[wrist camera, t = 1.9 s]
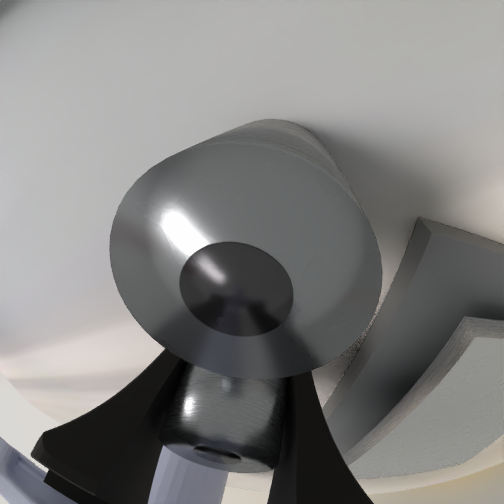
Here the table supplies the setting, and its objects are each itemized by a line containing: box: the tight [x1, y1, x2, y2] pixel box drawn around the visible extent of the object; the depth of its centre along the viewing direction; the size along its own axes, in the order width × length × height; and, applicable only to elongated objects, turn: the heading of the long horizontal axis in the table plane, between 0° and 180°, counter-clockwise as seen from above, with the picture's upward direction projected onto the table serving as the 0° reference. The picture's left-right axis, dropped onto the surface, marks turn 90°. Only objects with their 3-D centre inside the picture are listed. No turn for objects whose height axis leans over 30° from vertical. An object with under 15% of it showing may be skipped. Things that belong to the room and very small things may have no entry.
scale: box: [322, 217, 504, 456], centre depth 11 cm, size 18×16×4 cm
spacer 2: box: [158, 362, 289, 473], centre depth 10 cm, size 4×4×6 cm
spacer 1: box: [110, 119, 382, 379], centre depth 6 cm, size 4×4×6 cm
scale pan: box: [342, 316, 504, 479], centre depth 10 cm, size 14×12×2 cm
